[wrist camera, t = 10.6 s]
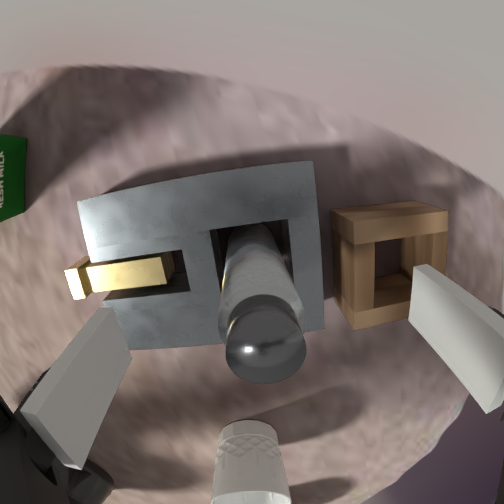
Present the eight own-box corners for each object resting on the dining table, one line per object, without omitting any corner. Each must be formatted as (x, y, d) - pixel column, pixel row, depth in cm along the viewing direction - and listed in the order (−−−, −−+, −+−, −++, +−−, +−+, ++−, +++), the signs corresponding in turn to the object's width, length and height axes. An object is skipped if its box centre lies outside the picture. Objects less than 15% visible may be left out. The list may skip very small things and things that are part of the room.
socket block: (135, 325, 25) (121, 350, 21) (100, 194, 21) (77, 201, 18) (312, 304, 25) (324, 328, 21) (300, 160, 21) (312, 160, 18)
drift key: (92, 282, 23) (74, 299, 20) (85, 256, 23) (64, 270, 19) (175, 271, 23) (165, 289, 20) (169, 242, 23) (157, 256, 19)
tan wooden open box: (334, 300, 25) (353, 330, 20) (330, 209, 23) (353, 222, 18) (412, 285, 25) (440, 308, 20) (414, 200, 23) (448, 211, 18)
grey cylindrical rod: (232, 269, 24) (224, 395, 10) (224, 225, 23) (204, 317, 9) (276, 263, 24) (318, 382, 10) (271, 219, 23) (315, 301, 9)
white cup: (227, 409, 28) (226, 485, 19) (292, 423, 30) (306, 494, 20) (206, 444, 30) (201, 511, 21) (264, 456, 32) (270, 519, 22)
